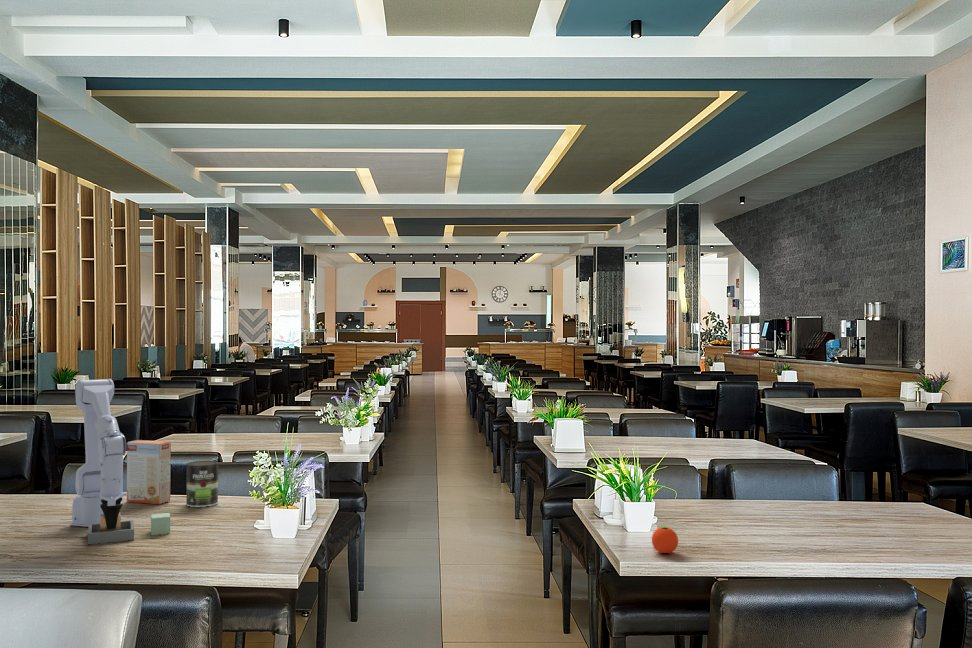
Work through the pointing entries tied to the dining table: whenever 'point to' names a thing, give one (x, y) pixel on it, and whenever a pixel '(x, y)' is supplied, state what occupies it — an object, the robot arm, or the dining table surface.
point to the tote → (111, 533)
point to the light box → (160, 523)
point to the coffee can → (202, 483)
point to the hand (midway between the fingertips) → (111, 526)
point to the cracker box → (148, 471)
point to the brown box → (104, 528)
